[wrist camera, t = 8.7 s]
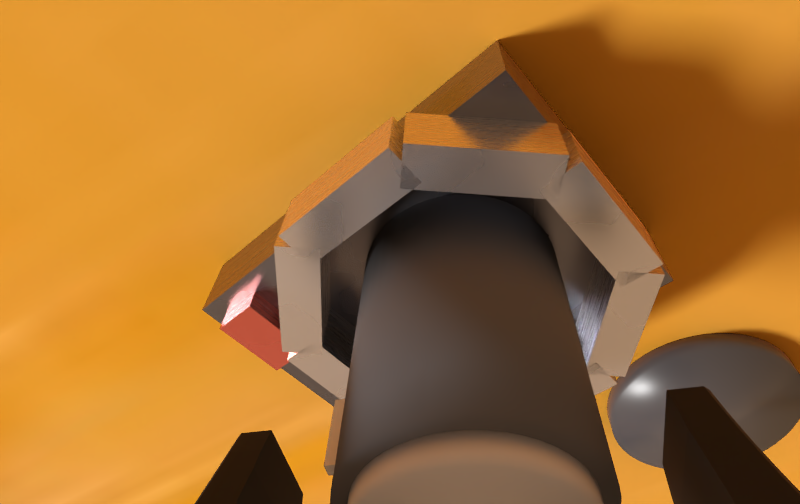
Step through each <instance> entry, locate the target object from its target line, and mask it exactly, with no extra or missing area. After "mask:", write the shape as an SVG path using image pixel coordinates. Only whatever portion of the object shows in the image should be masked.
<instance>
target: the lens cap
mask: <svg viewBox="0 0 800 504" xmlns="http://www.w3.org/2000/svg"><path fill="white" fill-rule="evenodd" d="M700 386H704V387H706V388H707V389H709V390H710V391H711V392H712V393H713V395H714V396H715V397H716V398H717V400H718V401H719V402H720V403H721V404H722V406H723V407H724V408H725V409H726V410H727V412H728V413H729V414H730V415H731V416H732V418H733V419H734V420H735V421H736V422H737V423H738V425H739V426H740V427H741V428H742V429H743V430H744V432H745V433H746V434H747V435H748V436H749V437H750V438H751V439H752V441H753V442H754V443H755V444H756V445H757V446H758V447H759V448H760V450H761V451H762V452H763V451H765V450H766V449H768V448H770V447H771V446H773V445H774V444H776V443H777V442H778V441H779V440H781V439H782V438H783V437H784V436H786V435H787V434H788V433H789V432H790V430H791V429H792V428H793V427H794V426H795V424H796V423H797V422H798V420H799V419H800V374H799V373H798V371H797V370H796V368H795V367H794V365H793V364H792V362H791V361H790V359H789V358H788V357H787V356H786V355H785V353H784V352H782V351H781V350H780V349H778V348H777V347H776V346H774V345H772V344H770V343H768V342H767V341H764V340H761V339H758V338H755V337H751V336H747V335H741V334H733V333H714V334H703V335H697V336H691V337H687V338H683V339H679V340H676V341H673V342H670V343H667V344H665V345H663V346H661V347H658V348H656V349H654V350H652V351H650V352H649V353H647V354H645V355H643V356H642V357H641V358H639V359H638V360H636V361H635V362H634V363H632V364H631V365H630V366H629V368H628V371H627V373H626V376H625V377H621V376H619V378H618V379H617V385H615V386H613V387H612V389H611V391H610V394H609V398H608V403H607V411H608V417H609V420H610V424H611V427H612V431H613V434H614V437H615V439H616V441H617V442H618V444H619V445H620V446H621V448H622V449H623V450H624V451H625V452H627V453H628V454H629V455H630V456H632V457H634V458H635V459H637V460H639V461H641V462H643V463H646V464H649V465H652V466H655V467H659V468H664V467H663V464H662V461H663V443H664V426H665V408H666V390H671V389H681V388H690V387H700Z"/></svg>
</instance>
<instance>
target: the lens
mask: <svg viewBox="0 0 800 504" xmlns="http://www.w3.org/2000/svg"><path fill="white" fill-rule="evenodd" d="M324 467H325V469H326V471H327V473H328V475H333V481H332V487H331V497H330V504H621V492H620V486H619V483H618V479H617V475H616V472H615V468H614V465H613V461H612V457H611V454H610V450H609V446H608V443H607V439H606V435H605V432H604V428H603V425H602V421H601V417H600V414H599V410H598V406H597V403H596V399H595V396H594V392H593V388H592V385H591V381H590V377H589V374H588V370H587V366H586V363H585V359H584V356H583V352H582V348H581V345H580V341H579V337H578V334H577V330H576V326H575V323H574V319H573V316H572V312H571V308H570V305H569V301H568V297H567V294H566V290H565V286H564V283H563V279H562V276H561V272H560V268H559V265H558V261H557V257H556V254H555V251H554V248H553V245H552V243H551V241H550V239H549V237H548V235H547V234H546V232H545V231H544V230H543V228H542V227H541V226H540V225H539V224H538V223H537V222H536V221H535V220H534V219H533V218H532V217H531V216H530V215H528V214H527V213H525V212H524V211H522V210H521V209H519V208H517V207H515V206H513V205H511V204H509V203H507V202H504V201H501V200H498V199H495V198H491V197H487V196H481V195H472V194H454V195H446V196H440V197H436V198H432V199H428V200H425V201H423V202H420V203H417V204H415V205H413V206H411V207H409V208H407V209H405V210H404V211H402V212H401V213H399V214H398V215H396V216H395V217H394V218H393V219H391V220H390V221H389V222H388V223H387V224H386V225H385V226H384V227H383V228H382V230H381V231H380V232H379V233H378V235H377V236H376V238H375V240H374V241H373V243H372V245H371V248H370V250H369V252H368V256H367V260H366V266H365V272H364V279H363V285H362V292H361V298H360V305H359V311H358V318H357V325H356V331H355V338H354V344H353V351H352V357H351V364H350V370H349V377H348V383H347V390H346V396H345V399H339V400H335V404H334V410H333V415H332V421H331V427H330V433H329V439H328V445H327V451H326V457H325V462H324Z"/></svg>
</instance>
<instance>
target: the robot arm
mask: <svg viewBox="0 0 800 504" xmlns="http://www.w3.org/2000/svg"><path fill="white" fill-rule="evenodd" d="M662 464H663V467H664V471H665V474H666V478H667V481H668V485H669V489H670V492H671V496H672V499H673V502H674V504H800V491H799V490H798V489H797V488H796V487H795V486H794V485H793V484H792V483H791V482H790V481H789V480H788V479H787V478H786V476H785V475H784V474H783V473H782V472H781V471H780V470H779V469H778V468H777V467H776V466H775V465H774V464H773V463H772V462H771V461H770V459H769V458H768V457H767V456H766V455H765V454H764V453H763V452H762V451H761V450H760V448H759V447H758V446H757V445H756V444H755V443H754V442H753V441H752V439H751V438H750V437H749V436H748V435H747V434H746V433H745V432H744V430H743V429H742V428H741V427H740V426H739V425H738V423H737V422H736V421H735V420H734V419H733V418H732V416H731V415H730V414H729V413H728V412H727V410H726V409H725V408H724V407H723V406H722V404H721V403H720V402H719V401H718V400H717V398H716V397H715V396H714V395H713V393H712V392H711V391H710V390H709V389H707V388H706V387H704V386H700V387H690V388H681V389H671V390H666V408H665V426H664V443H663V461H662ZM302 499H303V493H302V491H301V489H300V487H299V485H298V483H297V481H296V479H295V477H294V475H293V473H292V471H291V469H290V467H289V465H288V463H287V461H286V459H285V457H284V455H283V453H282V451H281V449H280V447H279V444H278V442H277V440H276V438H275V436H274V434H273V432H272V430H269V431H259V432H249V433H241V435H240V436H239V437H238V439H237V440H236V442H235V443H234V445H233V446H232V448H231V449H230V451H229V452H228V454H227V455H226V457H225V458H224V460H223V461H222V463H221V464H220V466H219V468H218V469H217V471H216V472H215V474H214V475H213V477H212V478H211V480H210V481H209V483H208V484H207V486H206V487H205V489H204V490H203V492H202V493H201V495H200V497H199V498H198V500H197V501H196V503H195V504H302Z"/></svg>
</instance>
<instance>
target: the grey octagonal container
mask: <svg viewBox="0 0 800 504" xmlns="http://www.w3.org/2000/svg"><path fill="white" fill-rule="evenodd" d="M454 194H472V195H481V196H487V197H491V198H495V199H498V200H501V201H504V202H507V203H509V204H511V205H513V206H515V207H517V208H519V209H521V210H522V211H524V212H525V213H527V214H528V215H530V216H531V217H532V218H533V219H534V220H535V221H536V222H537V223H538V224H539V225H540V226H541V227H542V228H543V230H544V231H545V232H546V234H547V235H548V237H549V239H550V241H551V243H552V245H553V248H554V251H555V254H556V257H557V261H558V265H559V268H560V272H561V276H562V279H563V283H564V286H565V290H566V294H567V297H568V301H569V305H570V308H571V312H572V316H573V319H574V323H575V326H576V330H577V334H578V337H579V341H580V345H581V348H582V352H583V356H584V359H585V363H586V366H587V370H588V374H589V377H590V381H591V385H592V388H593V392H594V395H596V394H598V393H600V392H602V391H604V390H606V389H608V388H611V387H613V386H615V385H617V381H616V378H615V376H621V377H625V376H626V373H627V371H628V368H629V365H630V363H631V360H632V358H633V355H634V353H635V350H636V348H637V345H638V342H639V340H640V337H641V335H642V332H643V330H644V327H645V324H646V322H647V319H648V317H649V314H650V312H651V309H652V307H653V304H654V301H655V299H656V296H657V294H658V291H659V289H660V287H662V286H664V285H666V284H668V283H669V282H671V281H673V279H672V277H671V275H670V273H669V271H668V269H667V267H666V265H665V263H664V261H663V259H662V257H661V255H660V253H659V251H658V249H657V248H656V246H655V244H654V242H653V240H652V238H651V236H650V234H649V233H648V232H647V230H646V229H645V227H644V225H643V224H642V222H641V221H640V220H639V219H638V217H637V216H636V215H635V214H634V212H633V211H632V210H631V208H630V207H629V206H628V205H627V203H626V202H625V201H624V199H623V198H622V197H621V196H620V194H619V193H618V192H617V190H616V189H615V188H614V187H613V185H612V184H611V183H610V182H609V180H608V179H607V178H606V176H605V175H604V174H603V173H602V171H601V170H600V169H599V167H598V166H597V165H596V164H595V162H594V161H593V160H592V159H591V157H590V156H589V155H588V153H587V152H586V151H585V150H584V148H583V147H582V146H581V144H580V143H579V142H578V141H577V139H576V138H575V137H574V136H573V134H572V133H571V132H570V130H569V129H568V130H567V129H566V127H565V126H564V125H563V123H562V122H561V121H560V120H559V118H558V117H557V116H556V114H555V113H554V112H553V111H552V109H551V108H550V107H549V106H548V104H547V103H546V102H545V100H544V99H543V98H542V97H541V95H540V94H539V93H538V92H537V90H536V89H535V88H534V86H533V85H532V84H531V83H530V81H529V80H528V79H527V77H526V76H525V75H524V74H523V72H522V71H521V70H520V69H519V67H518V66H517V65H516V63H515V62H514V61H513V60H512V58H511V57H510V56H509V55H508V53H507V52H506V51H505V49H504V48H503V47H502V46H501V44H500V43H499V42H498V40H497V41H496V42H495V43H493V44H492V45H491V46H490V47H489V48H487V49H486V50H485V51H484V52H483V53H481V54H480V55H479V56H478V57H476V58H475V59H474V60H473V61H472V62H470V63H469V64H468V65H467V66H465V67H464V68H463V69H462V70H461V71H459V72H458V73H457V74H456V75H454V76H453V77H452V78H451V79H450V80H448V81H447V82H446V83H445V84H444V85H442V86H441V87H440V88H439V89H437V90H436V91H435V92H434V93H433V94H431V95H430V96H429V97H428V98H426V99H425V100H424V101H423V102H422V103H420V104H419V105H418V106H417V107H416V108H414V109H413V110H412V111H411V112H409V113H408V112H406V116H405V117H403V118H402V119H401V120H400V121H398V122H397V121H396V120H395V118H394V117H391V118H390V119H389V120H388V121H387V122H385V123H384V124H383V125H382V126H381V127H379V128H378V129H377V130H376V131H375V132H373V133H372V134H371V135H370V136H369V137H367V138H366V139H365V140H364V141H363V142H361V143H360V144H359V145H358V146H356V147H355V148H354V149H353V150H352V151H350V152H349V153H348V154H347V155H346V156H344V157H343V158H342V159H341V160H340V161H338V162H337V163H336V164H335V165H334V166H332V167H331V168H330V169H329V170H328V171H326V172H325V173H324V174H323V175H322V176H320V177H319V178H318V179H317V180H316V181H314V182H313V183H312V184H311V185H309V186H308V187H307V188H306V189H305V190H303V191H302V192H301V193H300V194H299V195H297V196H296V197H295V198H294V199H293V200H292V201H291V203H290V206H289V209H288V210H287V212H286V214H285V215H284V216H283V217H281V218H280V219H279V220H278V221H277V222H275V223H274V224H273V225H272V226H270V227H269V228H268V229H267V230H266V231H264V232H263V233H262V234H261V235H260V236H258V237H257V238H256V239H255V240H253V241H252V242H251V243H250V244H249V245H247V246H246V247H245V248H244V249H242V250H241V251H240V252H239V253H238V254H236V255H235V256H234V257H233V258H232V259H230V260H229V261H228V262H227V263H225V264H224V265H223V267H222V269H221V271H220V273H219V275H218V277H217V279H216V282H215V284H214V286H213V288H212V290H211V292H210V294H209V297H208V299H207V301H206V303H205V305H204V307H203V309H202V310H203V311H205V312H206V313H207V314H209V315H210V316H211V317H213V318H214V319H215V320H217V321H218V322H220V323H221V324H222V325H221V327H220V329H221V330H222V331H224V332H225V333H226V334H228V335H229V336H231V337H232V338H233V339H235V340H236V341H237V342H239V343H240V344H241V345H243V346H244V347H246V348H247V349H248V350H250V351H251V352H252V353H254V354H255V355H257V356H258V357H259V358H261V359H262V360H263V361H265V362H266V363H267V364H269V365H270V366H272V367H273V368H274V369H276V370H278V369H280V368H282V369H283V370H285V371H286V372H288V373H289V374H290V375H292V376H293V377H294V378H296V379H297V380H298V381H300V382H301V383H302V384H304V385H305V386H307V387H308V388H309V389H311V390H312V391H313V392H315V393H316V394H317V395H319V396H320V397H321V398H323V399H324V400H326V401H327V402H328V403H330V404H331V405H332V406H334V404H335V400H339V399H345V396H346V390H347V383H348V377H349V370H350V364H351V357H352V351H353V344H354V338H355V331H356V325H357V318H358V311H359V305H360V298H361V292H362V285H363V279H364V272H365V266H366V260H367V256H368V252H369V250H370V248H371V245H372V243H373V241H374V240H375V238H376V236H377V235H378V233H379V232H380V231H381V230H382V228H383V227H384V226H385V225H386V224H387V223H388V222H389V221H390V220H391V219H393V218H394V217H395V216H396V215H398V214H399V213H401V212H402V211H404V210H405V209H407V208H409V207H411V206H413V205H415V204H417V203H420V202H423V201H425V200H428V199H432V198H436V197H440V196H446V195H454Z"/></svg>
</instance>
